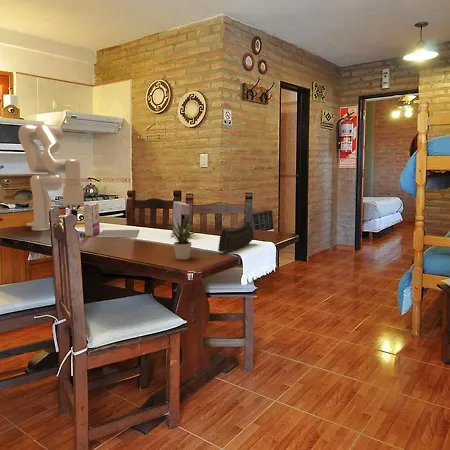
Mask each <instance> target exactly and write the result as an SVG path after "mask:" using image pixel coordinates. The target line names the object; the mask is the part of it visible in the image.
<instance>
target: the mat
mask: <svg viewBox="0 0 450 450" xmlns="http://www.w3.org/2000/svg"><path fill="white" fill-rule="evenodd" d="M139 232H140V229H103V230H102V231H100V233H99V234H97V235H96V239H121V238H122V239H125V238H126V239H127V238H128V239H129V238H137V237H138V234H139Z"/></svg>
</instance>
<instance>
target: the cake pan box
mask: <svg viewBox="0 0 450 450" xmlns="http://www.w3.org/2000/svg"><path fill="white" fill-rule="evenodd" d="M172 203H173V204H172V224H173V225H174V226H175V227H176V229H177V230H178V232H179V229H178V226H177V223H176V222H177V221H178V222H179V225H180V226H181V229H182V226H183V224H184V227H183V232H185V231H186V228H187V225H188V223H189V224H190V204H187V203H185V202H182V201H173V202H172ZM184 219H185V220H184ZM176 220H177V221H176ZM172 228H173V229H174V231H175V232H176V234H177V236H178V237H179V235H178V233H177V231H176V229H175V228H174V227H173V226H172ZM172 228H171V229H172ZM173 229H172V230H171V231H172V233H175V232H174V231H173ZM188 239H189V237H188Z"/></svg>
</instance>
